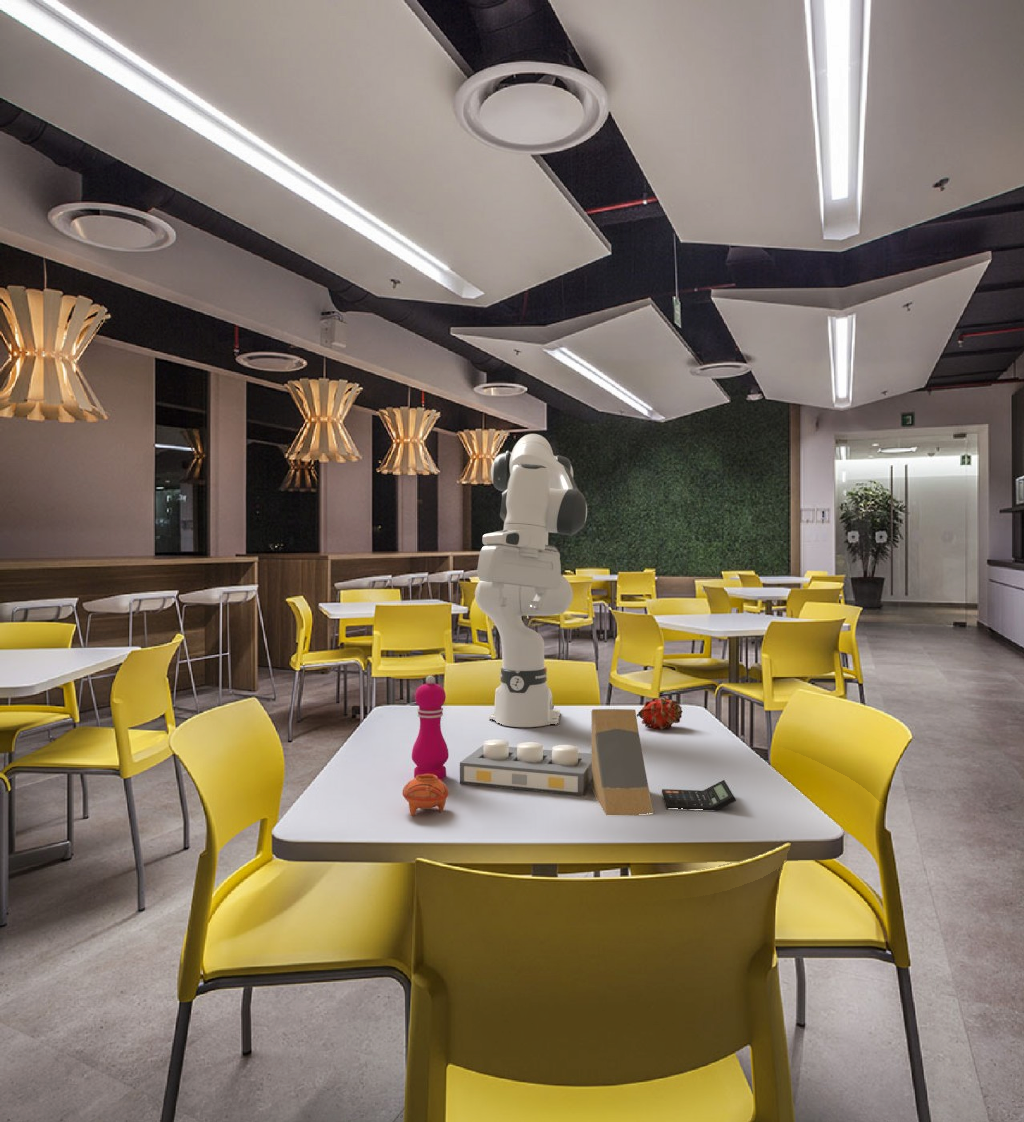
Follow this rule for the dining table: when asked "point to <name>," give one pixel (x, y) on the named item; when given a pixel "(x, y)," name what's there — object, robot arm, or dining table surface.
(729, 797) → the calculator
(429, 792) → the pot
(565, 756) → the button container side
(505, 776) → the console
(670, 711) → the dragon fruit
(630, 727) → the sandwich container
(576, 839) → the dining table surface
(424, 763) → the pepper mill
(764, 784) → the dining table surface
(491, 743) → the ball
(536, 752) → the button middle
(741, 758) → the dining table surface
